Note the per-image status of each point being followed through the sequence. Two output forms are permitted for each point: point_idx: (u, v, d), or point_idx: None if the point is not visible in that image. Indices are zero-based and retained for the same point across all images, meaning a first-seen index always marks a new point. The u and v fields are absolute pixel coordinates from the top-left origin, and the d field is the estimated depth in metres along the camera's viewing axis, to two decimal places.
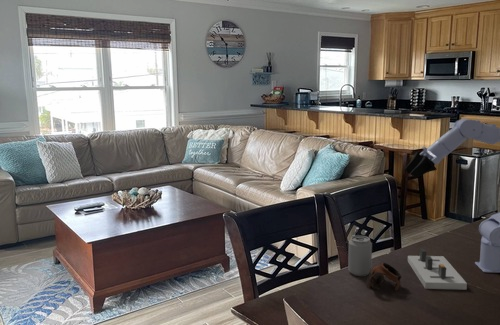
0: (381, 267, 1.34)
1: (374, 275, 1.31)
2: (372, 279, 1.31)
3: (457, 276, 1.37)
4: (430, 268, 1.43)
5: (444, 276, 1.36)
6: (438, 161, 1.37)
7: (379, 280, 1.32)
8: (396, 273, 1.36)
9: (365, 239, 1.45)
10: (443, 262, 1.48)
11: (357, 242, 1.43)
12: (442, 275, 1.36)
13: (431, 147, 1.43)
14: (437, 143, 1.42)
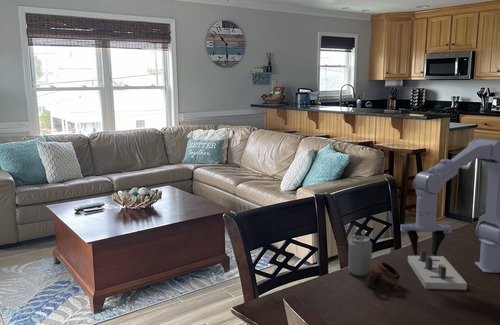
0: (380, 266, 1.35)
1: (373, 274, 1.31)
2: (371, 278, 1.31)
3: (457, 276, 1.37)
4: (430, 268, 1.43)
5: (444, 276, 1.36)
6: None
7: (378, 279, 1.32)
8: (395, 272, 1.37)
9: (365, 239, 1.45)
10: (443, 262, 1.48)
11: (357, 242, 1.43)
12: (442, 275, 1.36)
13: (432, 223, 1.32)
14: (433, 216, 1.32)
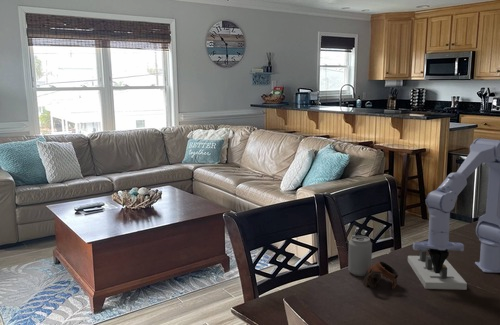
0: (378, 266, 1.35)
1: (371, 274, 1.32)
2: (369, 278, 1.32)
3: (457, 276, 1.37)
4: (430, 268, 1.43)
5: (445, 276, 1.36)
6: None
7: (376, 279, 1.33)
8: (393, 272, 1.38)
9: (365, 239, 1.45)
10: None
11: (357, 242, 1.43)
12: (443, 275, 1.36)
13: (445, 242, 1.33)
14: (446, 235, 1.32)
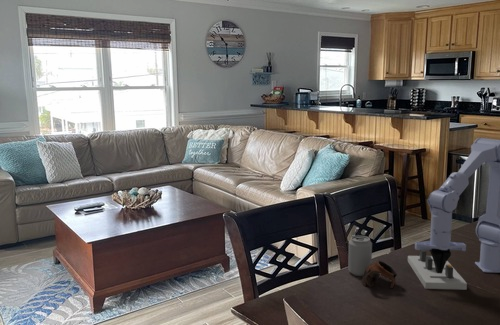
0: (377, 265, 1.36)
1: (370, 273, 1.32)
2: (368, 277, 1.32)
3: (457, 276, 1.37)
4: (430, 268, 1.43)
5: (451, 276, 1.35)
6: None
7: (375, 278, 1.33)
8: (391, 271, 1.38)
9: (365, 239, 1.45)
10: None
11: (357, 242, 1.43)
12: (449, 275, 1.35)
13: (447, 242, 1.33)
14: (448, 235, 1.32)
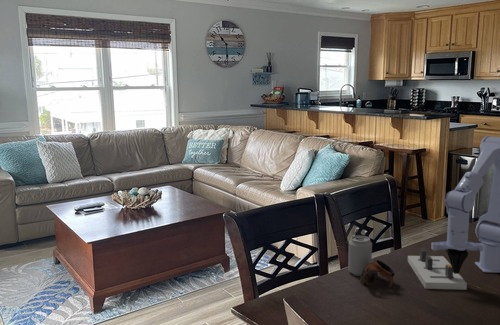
0: (375, 264, 1.36)
1: (368, 272, 1.33)
2: (366, 276, 1.33)
3: (457, 276, 1.37)
4: (430, 268, 1.43)
5: (451, 276, 1.35)
6: None
7: (373, 277, 1.34)
8: (389, 270, 1.39)
9: (365, 239, 1.45)
10: (443, 262, 1.48)
11: (357, 242, 1.43)
12: (449, 275, 1.35)
13: (464, 242, 1.32)
14: (465, 235, 1.32)
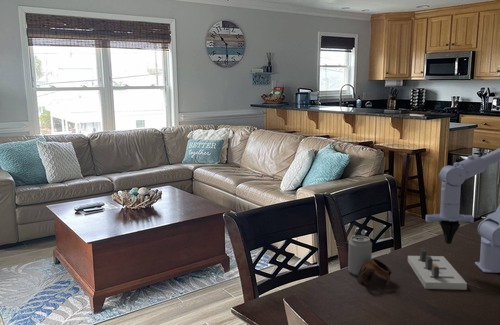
0: (372, 263, 1.37)
1: (366, 271, 1.34)
2: (364, 275, 1.34)
3: (457, 276, 1.37)
4: (430, 268, 1.43)
5: (437, 276, 1.36)
6: None
7: (371, 276, 1.35)
8: (386, 269, 1.40)
9: (365, 239, 1.45)
10: (443, 262, 1.48)
11: (357, 242, 1.43)
12: (435, 275, 1.36)
13: (456, 214, 1.42)
14: (457, 207, 1.42)
